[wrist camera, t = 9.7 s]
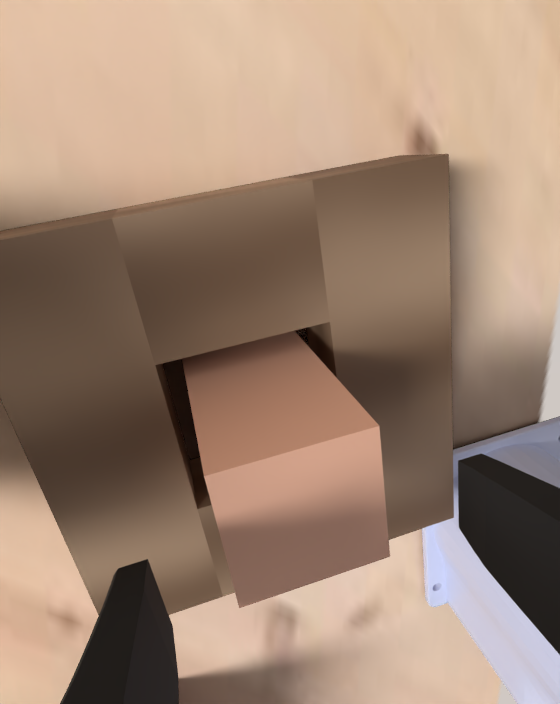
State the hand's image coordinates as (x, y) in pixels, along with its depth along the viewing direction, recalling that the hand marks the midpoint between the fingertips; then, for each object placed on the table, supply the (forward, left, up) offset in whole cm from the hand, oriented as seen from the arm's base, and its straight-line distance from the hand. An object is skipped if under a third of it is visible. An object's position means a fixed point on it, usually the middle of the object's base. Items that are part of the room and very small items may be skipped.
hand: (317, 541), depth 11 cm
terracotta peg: (0, 0, -9) cm, 9 cm away
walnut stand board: (0, 0, -9) cm, 9 cm away
